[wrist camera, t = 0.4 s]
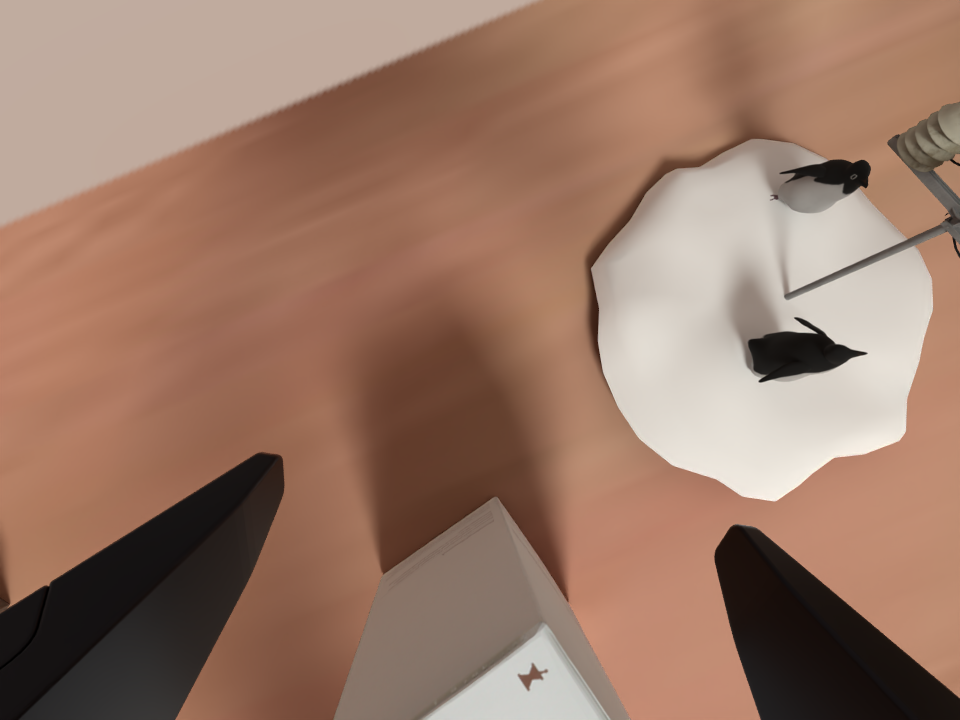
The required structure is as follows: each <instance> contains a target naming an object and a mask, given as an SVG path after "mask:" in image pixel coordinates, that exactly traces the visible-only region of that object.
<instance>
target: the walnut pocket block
mask: <svg viewBox="0 0 960 720" xmlns="http://www.w3.org/2000/svg"><path fill="white" fill-rule="evenodd" d="M9 605H10V604H8V603H7V602H5V601H4V600H2V599H1V598H0V613H1V612H2V611H4V610H6V609H7V607H8V606H9Z"/></svg>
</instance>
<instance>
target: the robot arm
mask: <svg viewBox="0 0 960 720" xmlns="http://www.w3.org/2000/svg"><path fill="white" fill-rule="evenodd" d="M283 493H284V470H283V459H282V457H281V456H280V455H277V454H270V453H264V452H260V453H257V454H255V455H253V456H252V457H250V458H249V459H247V460H245V461H244V462H242V463H241V464H239V465H237V466H236V467H234V468H233V469H231V470H229V471H228V472H226V473H225V474H223V475H221V476H220V477H218V478H217V479H215V480H213V481H212V482H210V483H208V484H207V485H205V486H204V487H202V488H200V489H199V490H197V491H196V492H194V493H192V494H191V495H189V496H188V497H186V498H184V499H183V500H181V501H180V502H178V503H176V504H175V505H173V506H172V507H170V508H168V509H167V510H165V511H164V512H162V513H160V514H159V515H157V516H156V517H154V518H152V519H151V520H149V521H148V522H146V523H144V524H143V525H141V526H140V527H138V528H136V529H135V530H133V531H132V532H130V533H128V534H127V535H125V536H123V537H122V538H120V539H119V540H117V541H115V542H114V543H112V544H111V545H109V546H107V547H106V548H104V549H103V550H101V551H99V552H98V553H96V554H95V555H93V556H91V557H90V558H88V559H87V560H85V561H83V562H82V563H80V564H79V565H77V566H75V567H74V568H72V569H71V570H69V571H67V572H66V573H64V574H63V575H61V576H59V577H58V578H56V579H55V580H53V581H52V582H51V583H50V585H49V586H43V587H41V588H40V589H38V590H37V591H35V592H33V593H32V594H30V595H29V596H27V597H25V598H24V599H22V600H20V601H19V602H17V603H16V604H14V605H12V606H11V607H9V608H7V609H6V610H4V611H2V612H1V613H0V720H175V719H176V717H177V715H178V713H179V711H180V710H181V708H182V706H183V704H184V702H185V700H186V698H187V696H188V694H189V692H190V691H191V689H192V687H193V685H194V683H195V681H196V679H197V677H198V675H199V674H200V672H201V670H202V668H203V666H204V664H205V662H206V660H207V658H208V656H209V655H210V653H211V651H212V649H213V647H214V645H215V643H216V641H217V639H218V637H219V636H220V634H221V632H222V630H223V628H224V626H225V624H226V622H227V620H228V619H229V617H230V615H231V613H232V611H233V609H234V607H235V605H236V603H237V601H238V600H239V598H240V596H241V594H242V592H243V590H244V588H245V586H246V584H247V582H248V580H249V578H250V576H251V574H252V572H253V569H254V567H255V565H256V562H257V560H258V557H259V555H260V552H261V550H262V547H263V545H264V542H265V540H266V537H267V535H268V532H269V530H270V527H271V525H272V522H273V520H274V517H275V515H276V512H277V509H278V507H279V504H280V502H281V499H282V496H283ZM714 558H715V565H716V569H717V573H718V577H719V582H720V586H721V590H722V594H723V598H724V602H725V606H726V611H727V615H728V619H729V623H730V627H731V631H732V634H733V638H734V642H735V645H736V648H737V651H738V654H739V657H740V660H741V663H742V666H743V669H744V672H745V675H746V678H747V681H748V683H749V686H750V689H751V692H752V695H753V698H754V701H755V704H756V707H757V710H758V713H759V716H760V719H761V720H960V698H959V697H958V696H956V695H955V694H954V693H953V692H952V691H951V690H949V689H948V688H947V687H946V686H945V685H943V684H942V683H941V682H940V681H939V680H937V679H936V678H935V677H934V676H933V675H931V674H930V673H929V672H928V671H927V670H926V669H924V668H923V667H922V666H921V665H920V664H918V663H917V662H916V661H915V660H914V659H912V658H911V657H910V656H909V655H908V654H906V653H905V652H904V651H903V650H902V649H901V648H899V647H898V646H897V645H896V644H895V643H893V642H892V641H891V640H890V639H889V638H887V637H886V636H885V635H884V634H883V633H881V632H880V631H879V630H878V629H877V628H875V627H874V626H873V625H872V624H871V623H870V622H868V621H867V620H866V619H865V618H864V617H862V616H861V615H860V614H859V613H858V612H856V611H855V610H854V609H853V608H852V607H850V606H849V605H848V604H847V603H846V602H845V601H843V600H842V599H841V598H840V597H839V596H837V595H836V594H835V593H834V592H833V591H831V590H830V589H829V588H828V587H827V586H825V585H824V584H823V583H822V582H821V581H820V580H818V579H817V578H816V577H815V576H814V575H812V574H811V573H810V572H809V571H808V570H806V569H805V568H804V567H803V566H802V565H800V564H799V563H798V562H797V561H796V560H795V559H793V558H792V557H791V556H790V555H789V554H787V553H786V552H785V551H784V550H783V549H781V548H780V547H779V546H778V545H777V544H775V543H774V542H773V541H772V540H771V539H769V538H768V537H767V536H766V535H765V534H764V533H762V532H761V531H760V530H759V529H757V528H755V527H752V526H746V525H739V524H735V525H733V526H731V527H730V528H729V530H728V531H727V533H726V535H725V536H724V538H723V539H722V541H721V542H720V544H719V545H718V547H717V548H716V551H715V556H714Z"/></svg>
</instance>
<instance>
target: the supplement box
mask: <svg viewBox="0 0 960 720" xmlns="http://www.w3.org/2000/svg"><path fill="white" fill-rule="evenodd" d="M333 720H631V719H630V717H629V715H628V713H627V712H626V710H625V708H624V706H623V704H622V702H621V700H620V699H619V697H618V695H617V693H616V691H615V689H614V688H613V686H612V684H611V682H610V680H609V678H608V676H607V675H606V673H605V671H604V669H603V667H602V665H601V663H600V662H599V660H598V658H597V656H596V654H595V652H594V651H593V649H592V647H591V645H590V643H589V641H588V639H587V638H586V636H585V634H584V632H583V630H582V628H581V626H580V624H579V622H578V620H577V618H576V616H575V614H574V612H573V610H572V609H571V607H570V605H569V603H568V602H567V600H566V599H565V597H564V595H563V594H562V592H561V591H560V589H559V587H558V586H557V584H556V583H555V581H554V579H553V578H552V576H551V575H550V573H549V572H548V570H547V569H546V567H545V565H544V564H543V562H542V561H541V559H540V558H539V556H538V555H537V553H536V552H535V550H534V549H533V548H532V546H531V545H530V543H529V542H528V540H527V539H526V537H525V536H524V535H523V533H522V532H521V530H520V529H519V527H518V526H517V524H516V523H515V522H514V520H513V519H512V517H511V516H510V514H509V513H508V512H507V510H506V509H505V507H504V506H503V504H502V503H501V501H500V500H499V498H498V497H494V498H492V499H491V500H489V501H488V502H486V503H485V504H483V505H482V506H481V507H479V508H478V509H476V510H475V511H473V512H472V513H470V514H469V515H468V516H466V517H465V518H463V519H462V520H461V521H459V522H458V523H456V524H455V525H453V526H452V527H450V528H449V529H448V530H446V531H445V532H443V533H442V534H440V535H439V536H437V537H436V538H435V539H433V540H432V541H430V542H429V543H428V544H426V545H425V546H423V547H422V548H420V549H419V550H417V551H416V552H415V553H413V554H412V555H410V556H409V557H408V558H406V559H405V560H403V561H402V562H400V563H399V564H398V565H396V566H395V567H393V568H392V569H391V570H389V571H388V572H386V573H385V574H384V575H383V576H382V577H381V580H380V583H379V586H378V589H377V592H376V595H375V597H374V600H373V604H372V606H371V609H370V612H369V615H368V618H367V622H366V624H365V627H364V630H363V633H362V636H361V639H360V642H359V646H358V648H357V651H356V654H355V657H354V660H353V663H352V666H351V668H350V671H349V674H348V677H347V680H346V683H345V686H344V689H343V692H342V695H341V698H340V701H339V704H338V707H337V709H336V713H335V716H334V719H333Z"/></svg>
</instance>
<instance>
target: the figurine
mask: <svg viewBox="0 0 960 720" xmlns="http://www.w3.org/2000/svg"><path fill="white" fill-rule="evenodd" d="M887 143H888V145H889V146H890V147H891V149H892V150H893V151H894V152H895V153H896V154H897V155H898V156H899V157H900V158H901V160H902V161H903V162H904V163H905V164H906V165H907V166H908V167H909V168H910V169H911V170H912V172H913V173H914V174H915V175H916V176H917V177H918V178H919V179H920V180H921V181H922V183H923V184H924V185H925V186H926V187H927V188H928V189H929V190H930V191H931V192H932V194H933V195H934V196H935V197H936V198H937V199H938V200H939V201H940V202H941V203H942V204H943V206H944V207H945V208H946V209H947V210H948V212H949V213H947V214H950V215H951V217H949V218H947V219H945V222H944V221H943V223H941V225H938V226H936V227H934V228H932V229H929V230H927V231H925V232H923V233H921V234H918V235H916V236H914V237H912V238H910V239H907V238H906V237H905V236H904V235H903V234H902V233H901V232H900V231H899V230H898V229H897V228H896V227H895V226H894V225H893V224H892V223H891V222H890V221H889V220H888V219H887V218H886V217H885V216H884V215H883V214H882V213H881V212H880V211H879V210H878V209H877V208H876V207H875V206H874V205H873V204H872V203H871V202H870V201H869V200H868V198H867V197H866V196H865V195H864V193H863V192H862V191H861V190H860V188H859V187H860V186H863V187H864V188H867V186H868V176H869V174H870V171H871V167H870V165H869V163H868V162H867V161H865V160H860V161H857V162H855V163H851V162H849V161H846V160H830V161H829V160H827V159H826V158H824V157H822V156H820V155H818V154H816V153H814V152H811V151H809V150H807V149H805V148H803V147H801V146H799V145H797V144H795V143H788V142H781V141H773V140H766V139H750V140H748V141H746V142H744V143H742V144H740V145H738V146H736V147H734V148H732V149H730V150H727V151H725V152H723V153H721V154H720V155H718V156H717V157H715V158H713V159H712V160H710V161H708V162H707V163H705V164H704V165H702V166H700V167H694V168H679V169H675V170H673V171H671V172H669V173H667V174H665V175H664V176H663V177H662V178H661V179H660V180H659V181H658V182H657V183H656V184H655V185H654V186H653V187H652V188H651V189H650V190H648V191H647V192H646V194H645V196H644V198H643V199H642V201H641V203H640V204H639V206H638V208H637V209H636V211H635V213H634V215H633V216H632V218H631V220H630V221H629V222H628V223H627V224H626V225H625V226H624V227H623V229H622V230H621V231H620V232H619V233H618V234H617V235H616V236H615V237H614V238H613V239H612V241H611V242H610V243H609V244H608V245H607V247H606V248H605V249H604V251H603V252H602V254H601V255H600V256H599V258H598V259H597V261H596V262H595V264H594V265H593V266H592V268H591V271H592V276H593V281H594V286H595V291H596V295H597V300H598V305H599V326H598V345H599V351H600V357H601V363H602V369H603V373H604V376H605V378H606V380H607V383H608V385H609V387H610V390H611V392H612V394H613V396H614V399H615V401H616V403H617V406H618V408H619V409H620V411H621V412H622V414H623V415H624V417H625V418H626V420H627V421H628V423H629V424H630V426H631V427H632V429H633V430H634V432H635V433H636V435H637V436H638V438H639V439H640V440H641V441H643V442H644V443H645V444H646V445H648V446H649V447H650V448H651V449H653V450H654V451H655V452H656V453H658V454H659V455H660V456H661V457H663V458H664V459H665V460H666V461H668V462H669V463H670V464H671V465H673V466H676V467H679V468H682V469H685V470H688V471H692V472H695V473H698V474H701V475H705V476H708V477H711V478H714V479H717V480H719V481H720V482H722V483H723V484H725V485H726V486H728V487H729V488H731V489H732V490H733V491H735V492H736V493H738V494H739V495H741V496H743V497H749V498H756V499H763V500H769V501H777V500H778V499H780V498H781V497H783V496H784V495H786V494H787V493H788V492H790V491H791V490H793V489H794V488H796V487H797V486H799V485H800V484H801V483H802V482H803V481H804V480H805V479H807V478H808V477H809V476H810V475H811V474H813V473H814V472H815V471H817V470H818V469H819V468H821V467H822V466H823V465H825V464H826V463H827V462H829V461H830V460H832V459H833V458H835V457H844V456H853V455H861V454H866V453H869V452H871V451H874V450H877V449H879V448H882V447H885V446H887V445H890V444H892V443H895V442H898V441H899V440H900V439H901V438H902V436H903V435H904V433H905V432H906V412H907V397H908V394H909V391H910V388H911V385H912V382H913V379H914V376H915V373H916V370H917V367H918V364H919V360H920V355H921V350H922V345H923V340H924V336H925V333H926V330H927V326H928V323H929V320H930V317H931V314H932V311H933V296H932V278H931V276H930V274H929V272H928V269H927V267H926V265H925V263H924V261H923V258H922V256H921V254H920V252H919V250H918V249H917V248H916V247H915V245H917V244H919V243H922V242H924V241H926V240H929V239H931V238H933V237H936V236H938V235H940V234H942V233H945V232H947V231H948V232H949V233H950V234H951V236H952V237H953V243H954V248H955V250H956V252H957V254H958V256H959V258H960V253H959V251H958V249H957V246H956V241H957V242H958V243H959V244H960V198H959V197H958V196H957V195H956V194H955V193H954V192H953V191H952V190H951V189H950V188H949V186H948V185H947V184H946V183H945V182H944V181H943V180H942V179H941V178H940V177H939V176H938V175H937V174H936V173H935V171H934V170H933V169H934V168H935V167H938V166H940V165H942V164H943V162H944V161H948V160H950V161H951V162H953V163H954V164H956V165H958V166H960V164H959V163H957V162H955V161H954V160H953V158H954V156H955V154H960V102H958V103H954V104H947V105H945V106H942V107H941V109H940V111H937V112H934V113H932V114H931V115H930V116H929V118H928V119H925V120H922V121H920V122H919V123H918V125H917V126H914V127H912V128H910V129H908V131H907V132H905V133H902V134H901V135H899V134H898V135H895V136H894V137H893V138H891V139H890V140H889V141H888V142H887ZM947 214H946V215H947ZM946 215H945V216H946ZM955 240H956V241H955Z"/></svg>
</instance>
